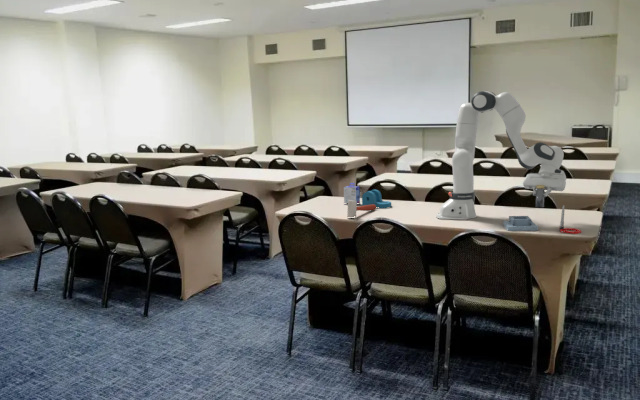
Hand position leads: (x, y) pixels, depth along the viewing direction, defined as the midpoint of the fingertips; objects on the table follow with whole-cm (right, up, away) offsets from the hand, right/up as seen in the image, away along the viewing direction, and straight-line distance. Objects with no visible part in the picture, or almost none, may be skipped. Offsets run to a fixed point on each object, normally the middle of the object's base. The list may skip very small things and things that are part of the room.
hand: (539, 195), depth 260 cm
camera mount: (-73, -7, +78) cm, 107 cm away
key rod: (+1, -6, +1) cm, 6 cm away
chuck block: (-9, -16, +2) cm, 19 cm away
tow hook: (+10, -18, -12) cm, 24 cm away
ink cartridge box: (-89, -5, +91) cm, 127 cm away
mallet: (-85, -11, +56) cm, 102 cm away
